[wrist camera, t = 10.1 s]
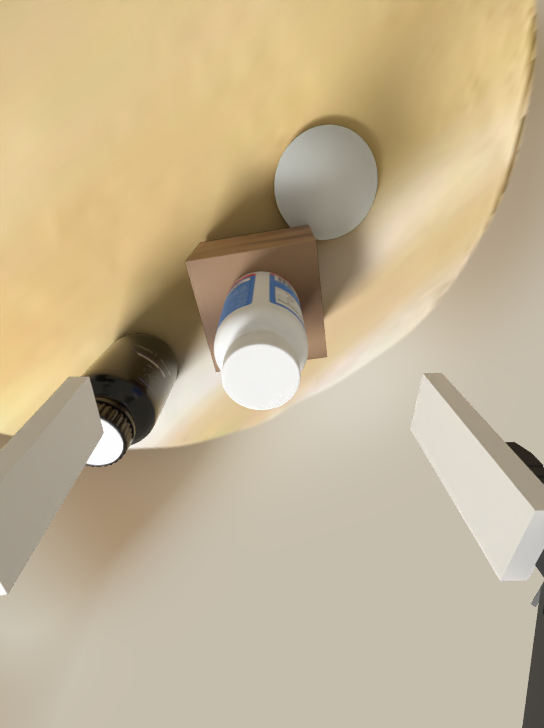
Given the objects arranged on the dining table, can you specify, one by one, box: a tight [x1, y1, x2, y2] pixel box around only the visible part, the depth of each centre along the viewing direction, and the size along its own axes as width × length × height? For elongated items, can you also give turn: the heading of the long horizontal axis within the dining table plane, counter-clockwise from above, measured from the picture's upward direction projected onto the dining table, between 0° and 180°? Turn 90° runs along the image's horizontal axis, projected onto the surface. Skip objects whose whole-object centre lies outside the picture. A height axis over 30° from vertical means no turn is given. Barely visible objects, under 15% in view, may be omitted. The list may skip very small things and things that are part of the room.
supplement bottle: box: [81, 334, 178, 467], centre depth 30 cm, size 7×7×12 cm
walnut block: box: [185, 225, 327, 372], centre depth 29 cm, size 9×9×6 cm
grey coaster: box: [274, 125, 378, 240], centre depth 28 cm, size 8×8×1 cm
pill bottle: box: [214, 271, 308, 410], centre depth 22 cm, size 6×5×10 cm
